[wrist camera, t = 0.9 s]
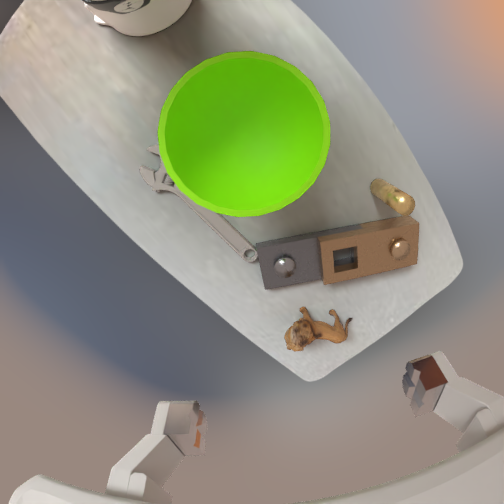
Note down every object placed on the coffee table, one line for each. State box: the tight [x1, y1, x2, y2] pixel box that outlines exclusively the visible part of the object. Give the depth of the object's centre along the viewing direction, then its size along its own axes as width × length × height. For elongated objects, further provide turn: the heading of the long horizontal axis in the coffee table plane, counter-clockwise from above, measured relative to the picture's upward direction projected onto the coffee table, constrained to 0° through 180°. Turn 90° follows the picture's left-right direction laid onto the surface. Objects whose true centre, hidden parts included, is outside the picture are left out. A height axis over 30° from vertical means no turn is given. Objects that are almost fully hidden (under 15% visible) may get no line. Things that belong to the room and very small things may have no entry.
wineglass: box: [158, 51, 330, 217], centre depth 33 cm, size 16×16×18 cm
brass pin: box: [370, 179, 415, 216], centre depth 41 cm, size 3×3×10 cm
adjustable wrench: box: [139, 145, 258, 262], centre depth 47 cm, size 25×6×2 cm, turn 38°
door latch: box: [256, 215, 419, 290], centre depth 48 cm, size 8×28×5 cm, turn 101°
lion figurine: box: [284, 307, 352, 351], centre depth 53 cm, size 15×5×9 cm, turn 87°
